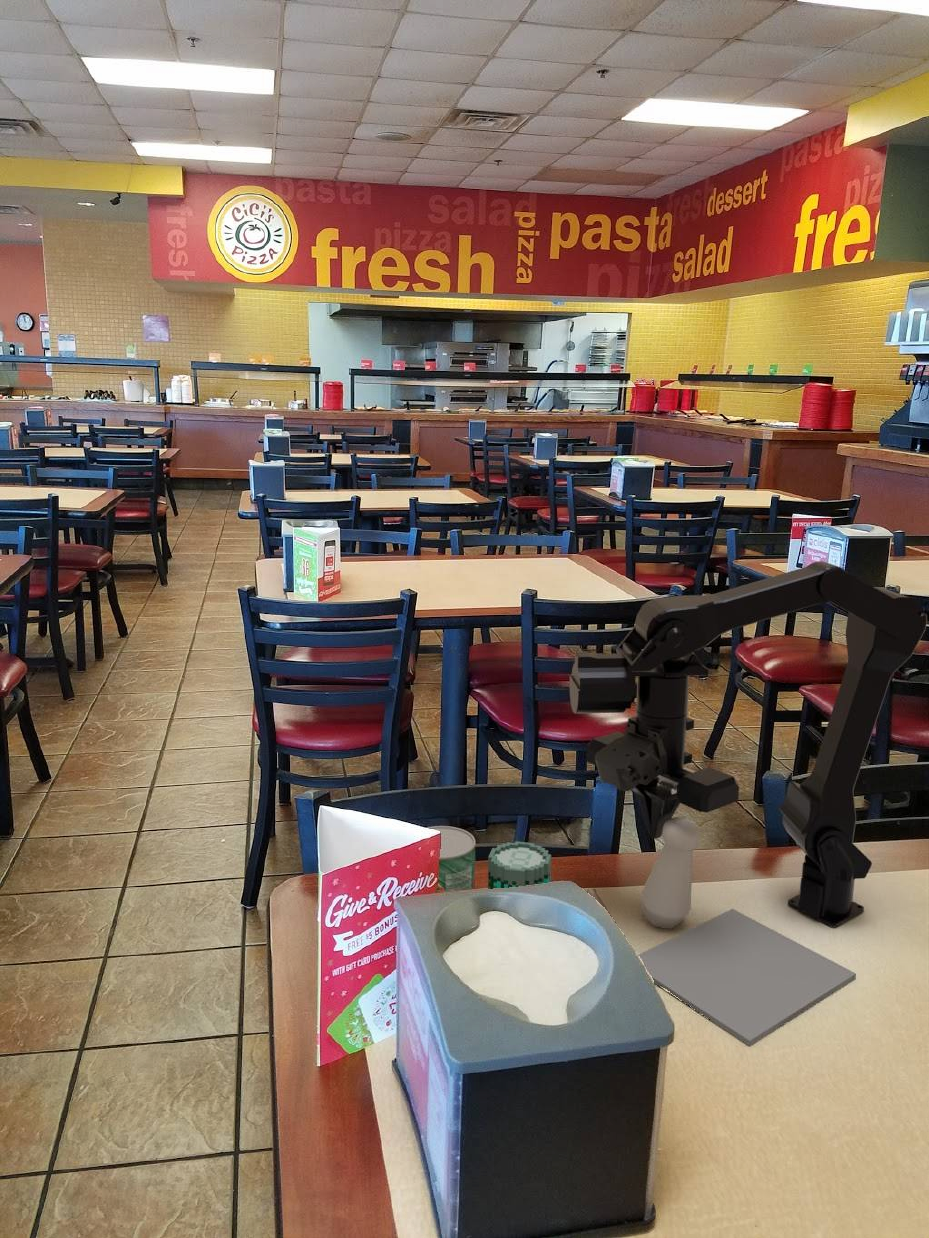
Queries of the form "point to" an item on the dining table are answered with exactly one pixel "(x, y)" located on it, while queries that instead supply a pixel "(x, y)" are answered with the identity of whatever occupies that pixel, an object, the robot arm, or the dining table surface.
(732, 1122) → the dining table surface
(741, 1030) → the mat
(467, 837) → the canned tomato
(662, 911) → the salt shaker
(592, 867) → the dining table surface
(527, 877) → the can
